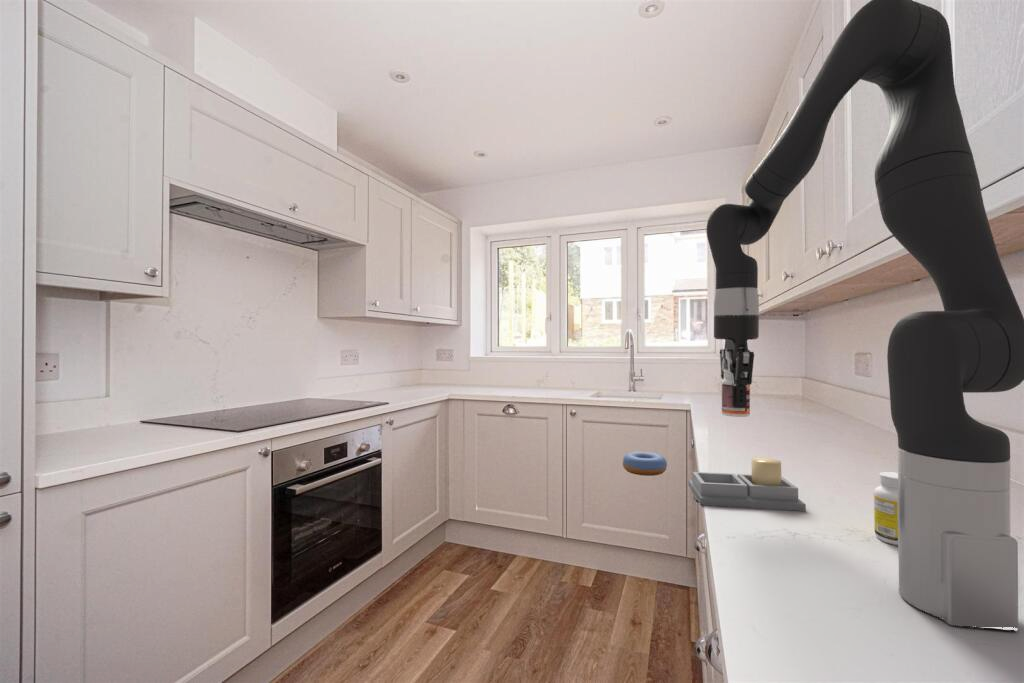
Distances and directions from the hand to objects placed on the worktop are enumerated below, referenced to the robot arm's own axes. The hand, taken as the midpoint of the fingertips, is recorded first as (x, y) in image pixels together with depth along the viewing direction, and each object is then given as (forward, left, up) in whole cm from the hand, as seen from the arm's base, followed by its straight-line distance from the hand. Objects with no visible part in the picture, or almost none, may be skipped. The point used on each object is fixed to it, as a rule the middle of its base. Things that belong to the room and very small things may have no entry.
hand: (735, 404), depth 87 cm
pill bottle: (0, 0, -2) cm, 2 cm away
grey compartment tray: (+4, -2, -18) cm, 19 cm away
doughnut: (+20, +14, -19) cm, 31 cm away
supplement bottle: (-13, -19, -18) cm, 30 cm away
